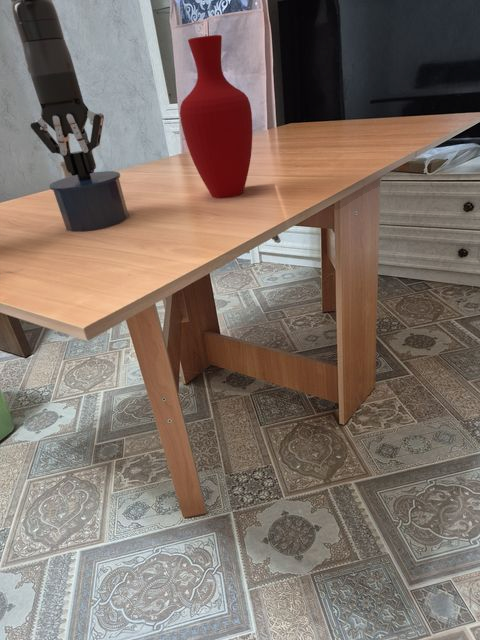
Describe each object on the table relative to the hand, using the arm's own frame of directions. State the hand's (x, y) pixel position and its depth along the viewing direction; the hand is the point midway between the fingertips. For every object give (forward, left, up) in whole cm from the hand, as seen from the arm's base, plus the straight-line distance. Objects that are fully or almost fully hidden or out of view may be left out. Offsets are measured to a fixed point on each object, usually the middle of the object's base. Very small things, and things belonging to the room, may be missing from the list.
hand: (83, 173), depth 91 cm
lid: (0, 0, -2) cm, 2 cm away
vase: (+27, +10, -10) cm, 31 cm away
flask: (-10, +20, -10) cm, 25 cm away
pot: (0, 0, -10) cm, 10 cm away
